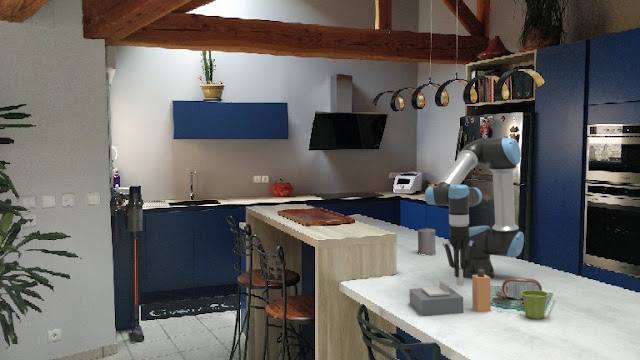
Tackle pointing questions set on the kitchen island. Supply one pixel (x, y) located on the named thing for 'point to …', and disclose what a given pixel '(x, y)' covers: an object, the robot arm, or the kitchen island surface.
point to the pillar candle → (426, 241)
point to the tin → (519, 286)
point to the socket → (436, 303)
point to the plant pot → (534, 303)
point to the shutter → (437, 290)
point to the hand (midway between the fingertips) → (460, 285)
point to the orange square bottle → (481, 292)
